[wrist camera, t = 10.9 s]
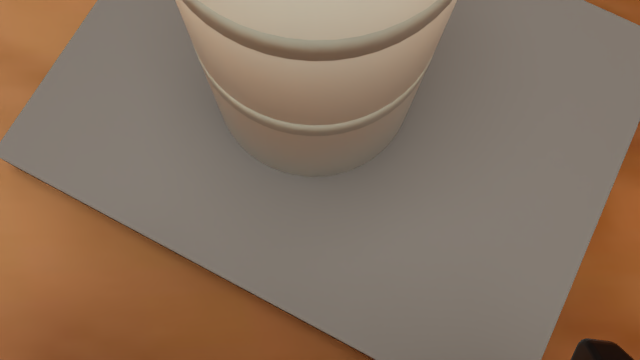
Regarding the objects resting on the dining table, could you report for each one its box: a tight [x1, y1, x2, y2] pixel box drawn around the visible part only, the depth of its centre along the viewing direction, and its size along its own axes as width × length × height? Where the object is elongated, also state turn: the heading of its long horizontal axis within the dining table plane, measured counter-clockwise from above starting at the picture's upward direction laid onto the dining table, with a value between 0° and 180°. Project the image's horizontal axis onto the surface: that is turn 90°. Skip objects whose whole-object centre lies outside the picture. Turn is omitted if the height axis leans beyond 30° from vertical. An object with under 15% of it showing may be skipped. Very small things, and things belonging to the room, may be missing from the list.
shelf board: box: [0, 0, 640, 360], centre depth 21 cm, size 18×14×2 cm
